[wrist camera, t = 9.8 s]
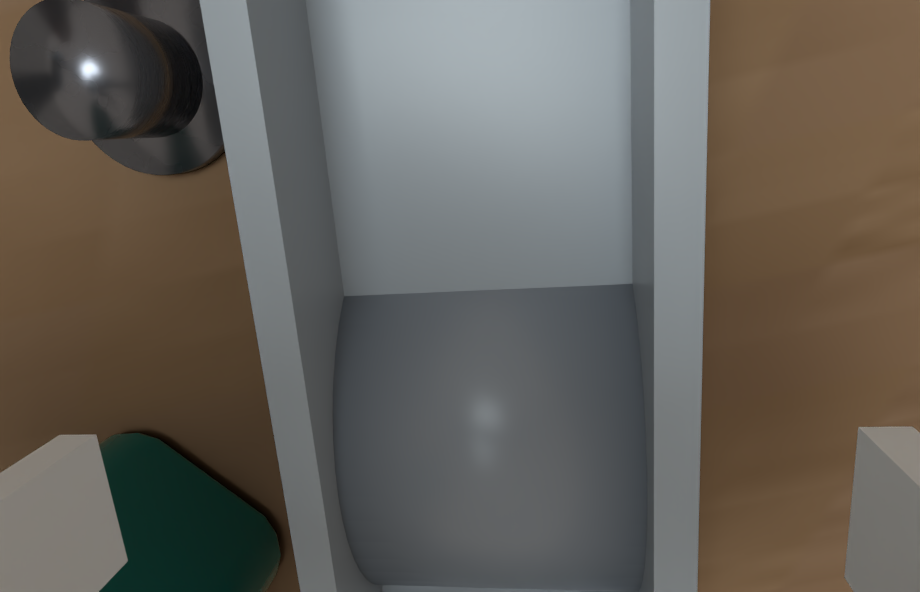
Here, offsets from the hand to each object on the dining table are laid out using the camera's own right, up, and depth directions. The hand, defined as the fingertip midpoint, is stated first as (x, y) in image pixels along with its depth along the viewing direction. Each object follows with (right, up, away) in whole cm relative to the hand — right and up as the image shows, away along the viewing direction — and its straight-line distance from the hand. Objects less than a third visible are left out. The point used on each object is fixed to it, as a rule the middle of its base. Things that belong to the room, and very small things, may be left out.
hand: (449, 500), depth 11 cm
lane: (+1, +14, +13) cm, 20 cm away
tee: (-10, +11, +10) cm, 17 cm away
